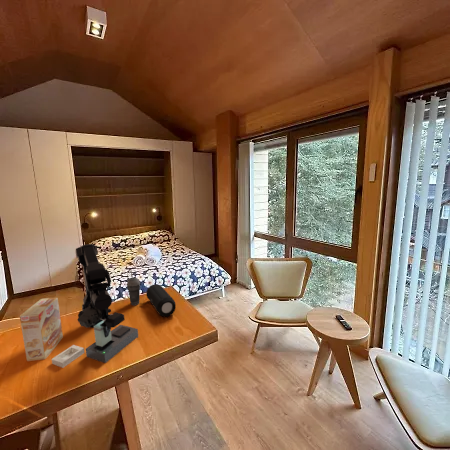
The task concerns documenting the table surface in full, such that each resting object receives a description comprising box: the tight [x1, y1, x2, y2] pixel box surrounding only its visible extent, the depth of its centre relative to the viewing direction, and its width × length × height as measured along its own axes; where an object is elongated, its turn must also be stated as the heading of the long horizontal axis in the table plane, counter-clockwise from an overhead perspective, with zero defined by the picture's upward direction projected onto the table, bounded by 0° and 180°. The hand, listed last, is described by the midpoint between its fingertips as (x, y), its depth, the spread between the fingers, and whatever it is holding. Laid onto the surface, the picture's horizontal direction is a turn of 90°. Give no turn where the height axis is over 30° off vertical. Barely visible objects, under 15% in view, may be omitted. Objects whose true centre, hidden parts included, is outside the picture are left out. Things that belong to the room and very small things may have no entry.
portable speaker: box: [146, 283, 176, 318], centre depth 137 cm, size 26×10×10 cm, turn 31°
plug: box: [93, 320, 112, 347], centre depth 100 cm, size 3×5×8 cm
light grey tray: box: [51, 344, 86, 369], centre depth 98 cm, size 6×9×2 cm, turn 158°
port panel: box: [85, 324, 139, 364], centre depth 105 cm, size 10×18×5 cm, turn 158°
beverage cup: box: [126, 270, 141, 306], centre depth 142 cm, size 7×7×20 cm
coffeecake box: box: [19, 297, 64, 362], centre depth 103 cm, size 15×7×20 cm, turn 9°
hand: (103, 335), depth 100 cm, fingers closed on plug, 3 cm apart
